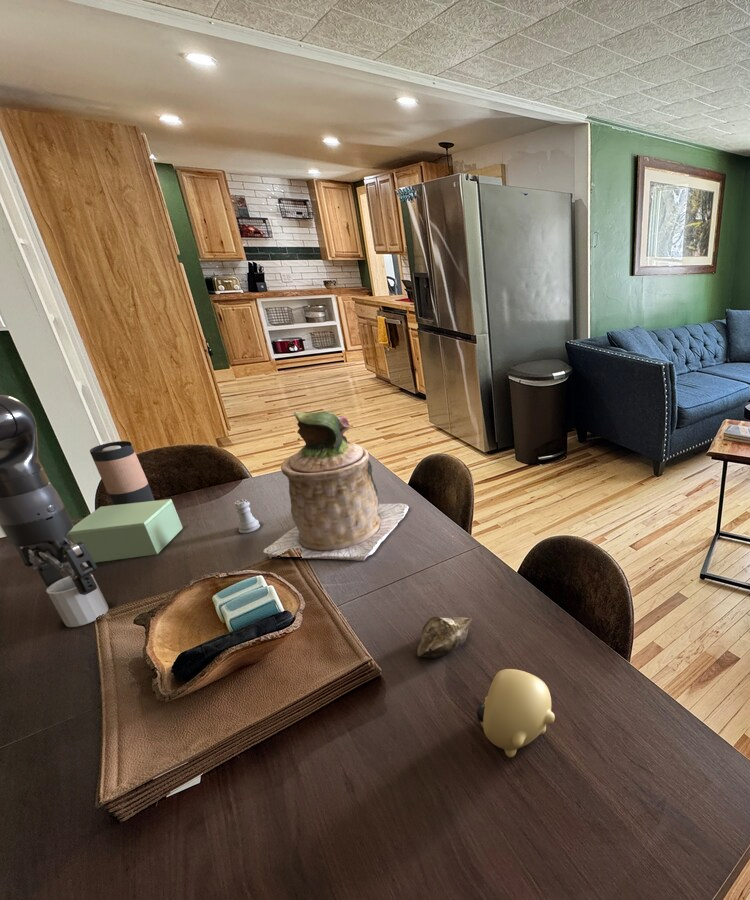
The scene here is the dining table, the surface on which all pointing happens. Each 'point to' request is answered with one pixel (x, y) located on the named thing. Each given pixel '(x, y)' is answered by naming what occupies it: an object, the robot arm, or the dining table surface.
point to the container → (132, 538)
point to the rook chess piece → (246, 517)
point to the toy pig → (515, 710)
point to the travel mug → (121, 473)
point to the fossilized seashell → (442, 636)
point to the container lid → (120, 516)
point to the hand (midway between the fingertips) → (72, 588)
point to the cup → (76, 602)
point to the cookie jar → (333, 495)
